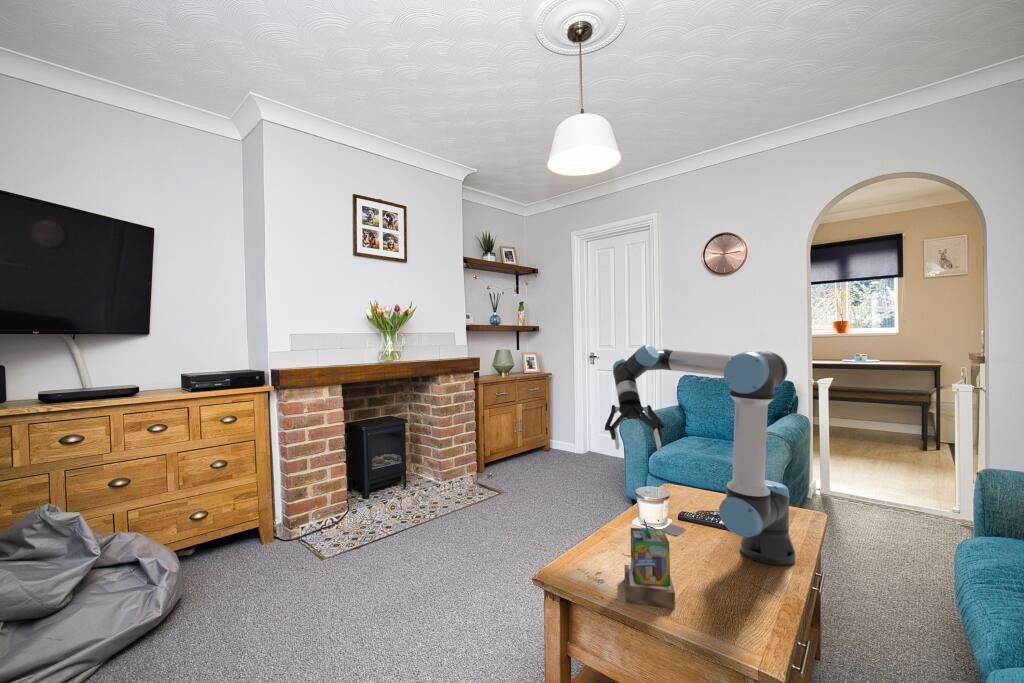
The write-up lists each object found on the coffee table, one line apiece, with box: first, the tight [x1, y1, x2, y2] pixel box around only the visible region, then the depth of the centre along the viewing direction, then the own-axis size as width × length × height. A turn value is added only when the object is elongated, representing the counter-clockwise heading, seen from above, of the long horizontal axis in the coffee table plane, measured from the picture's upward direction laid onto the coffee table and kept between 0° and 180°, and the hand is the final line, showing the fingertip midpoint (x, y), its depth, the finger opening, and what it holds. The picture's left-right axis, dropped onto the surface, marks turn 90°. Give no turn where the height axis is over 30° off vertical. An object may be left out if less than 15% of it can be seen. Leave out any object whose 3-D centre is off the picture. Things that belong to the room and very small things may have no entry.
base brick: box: [624, 564, 676, 609], centre depth 121 cm, size 12×12×4 cm
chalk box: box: [630, 519, 671, 586], centre depth 121 cm, size 9×9×15 cm
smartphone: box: [662, 523, 687, 537], centre depth 164 cm, size 7×1×15 cm
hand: (638, 447), depth 148 cm, fingers open, 13 cm apart
